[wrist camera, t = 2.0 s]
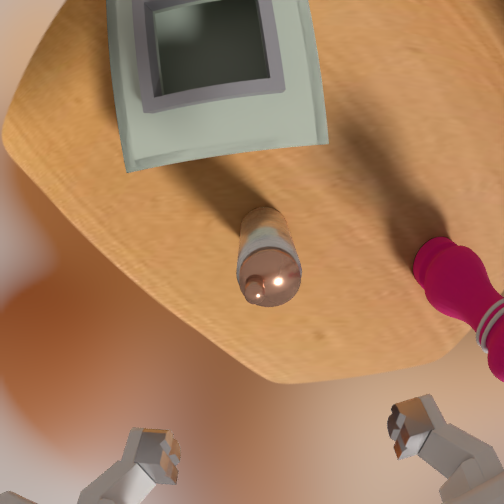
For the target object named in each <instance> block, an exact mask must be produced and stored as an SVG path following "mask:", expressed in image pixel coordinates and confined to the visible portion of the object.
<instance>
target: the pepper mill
mask: <svg viewBox="0 0 504 504" xmlns="http://www.w3.org/2000/svg"><path fill="white" fill-rule="evenodd" d="M413 273H414V277H415V279H416V281H417V282H418V283H419V284H420V285H421V287H422V288H423V289H424V290H425V294H426V297H427V299H428V301H429V303H430V304H431V305H432V306H433V307H434V308H435V309H436V310H438V311H439V312H441V313H443V314H445V315H447V316H450V317H453V318H457V319H459V320H462V321H464V322H466V323H467V324H469V325H470V326H471V327H472V328H473V329H474V330H475V332H476V341H477V344H478V345H479V346H481V348H482V350H483V351H484V352H485V353H488V365H489V368H490V370H491V372H492V373H493V374H494V375H495V377H497V378H498V379H499V380H501V381H502V382H504V297H502V296H501V295H500V294H499V293H498V292H497V291H496V290H495V289H494V288H493V286H492V285H491V283H490V280H489V278H488V275H487V272H486V269H485V267H484V264H483V263H482V261H481V259H480V258H479V257H478V256H477V255H476V254H475V253H474V252H473V251H472V250H471V249H469V248H467V247H465V246H458V245H457V244H455V243H454V242H453V241H451V240H450V239H448V238H446V237H436V238H433V239H431V240H429V241H428V242H426V243H425V244H424V245H423V246H422V247H421V248H420V250H419V251H418V253H417V255H416V257H415V260H414V264H413Z"/></svg>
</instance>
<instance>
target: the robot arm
mask: <svg viewBox="0 0 504 504" xmlns="http://www.w3.org/2000/svg"><path fill="white" fill-rule="evenodd" d="M391 411H392V414H391V415H390V416H389V418H388V421H387V428H388V432H389V436H390V438H391V439H392V440H394V441H396V442H395V444H394V450H395V453H396V456H397V458H398V460H401V459H404V458H407V457H411V456H414V455H417V454H418V456H419V457H420V458H422V459H423V460H424V461H426V462H427V463H428V464H430V465H431V466H432V467H433V468H434V469H436V470H437V471H438V472H440V473H441V474H442V475H444V476H445V477H446V478H447V479H448V480H447V481H446V482H445V483H444V484H443V485H442V486H441V488H440V489H439V492H440V495H441V498H442V501H443V503H442V504H504V469H503V467H502V465H501V463H500V461H499V459H498V457H497V455H496V453H495V451H494V449H493V447H492V446H490V445H488V444H487V443H485V442H483V441H481V440H479V439H477V438H476V437H474V436H472V435H470V434H468V433H466V432H465V431H463V430H461V429H459V428H457V427H456V426H454V425H452V424H447V423H446V421H445V420H444V418H443V416H442V414H441V412H440V410H439V408H438V406H437V404H436V403H435V401H434V399H433V397H432V395H430V394H426V395H423V396H420V397H416V398H413V399H410V400H406V401H403V402H400V403H396V404H394V405H393V406H392V408H391ZM173 435H174V434H173V433H172V431H171V430H161V429H146V428H132V429H131V431H130V433H129V436H128V440H127V443H126V446H125V449H124V453H123V456H122V460H121V461H117V462H116V463H115V464H113V465H112V466H111V467H110V468H109V469H107V471H105V472H104V473H103V474H102V475H100V476H99V477H98V478H97V479H96V480H95V481H93V482H92V483H91V484H90V485H88V486H87V487H86V488H85V489H84V490H82V491H81V493H80V496H79V499H78V502H77V504H140V503H141V501H142V500H143V499H144V498H145V497H146V496H147V495H148V494H149V492H150V491H151V490H152V489H153V488H154V487H155V485H156V483H159V484H172V485H176V484H177V478H178V469H177V468H176V465H177V464H178V463H179V462H180V458H181V448H180V445H179V443H178V441H177V440H175V439H173ZM0 504H37V503H35V502H33V501H30V500H28V499H26V498H24V497H22V496H20V495H18V494H16V493H14V492H11V491H6V492H4V493H2V494H0Z"/></svg>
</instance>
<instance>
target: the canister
mask: <svg viewBox="0 0 504 504" xmlns="http://www.w3.org/2000/svg"><path fill="white" fill-rule="evenodd" d="M301 275H302V269H301V264H300V261H299V258H298V255H297V252H296V249H295V246H294V243H293V240H292V237H291V234H290V231H289V228H288V225H287V222H286V220H285V218H284V216H283V215H282V214H281V213H280V212H279V211H277V210H275V209H273V208H270V207H259V208H256V209H254V210H252V211H250V212H249V213H248V214H247V215H246V216H245V217H244V219H243V221H242V224H241V231H240V241H239V251H238V262H237V280H238V283H239V286H240V289H241V291H242V293H243V295H244V296H245V299H246V300H247V301H248V302H249V303H251V304H256V305H259V306H264V307H274V306H279V305H282V304H284V303H286V302H288V301H289V300H291V299H292V298H293V297H294V296H295V294H296V293H297V291H298V289H299V287H300V283H301Z"/></svg>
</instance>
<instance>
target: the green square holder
mask: <svg viewBox="0 0 504 504" xmlns="http://www.w3.org/2000/svg"><path fill="white" fill-rule="evenodd" d="M106 8H107V30H108V44H109V56H110V67H111V77H112V85H113V93H114V101H115V108H116V115H117V122H118V128H119V134H120V140H121V146H122V151H123V157H124V162H125V167H126V172H127V173H130V172H134V171H139V170H144V169H148V168H153V167H158V166H163V165H168V164H174V163H179V162H185V161H190V160H196V159H202V158H208V157H215V156H221V155H228V154H235V153H243V152H250V151H258V150H267V149H276V148H286V147H296V146H308V145H321V144H329V140H328V129H327V120H326V111H325V102H324V94H323V86H322V79H321V72H320V65H319V58H318V52H317V46H316V40H315V34H314V29H313V23H312V18H311V13H310V7H309V3H308V0H106Z"/></svg>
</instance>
